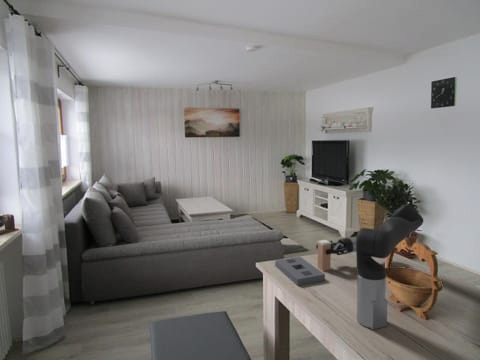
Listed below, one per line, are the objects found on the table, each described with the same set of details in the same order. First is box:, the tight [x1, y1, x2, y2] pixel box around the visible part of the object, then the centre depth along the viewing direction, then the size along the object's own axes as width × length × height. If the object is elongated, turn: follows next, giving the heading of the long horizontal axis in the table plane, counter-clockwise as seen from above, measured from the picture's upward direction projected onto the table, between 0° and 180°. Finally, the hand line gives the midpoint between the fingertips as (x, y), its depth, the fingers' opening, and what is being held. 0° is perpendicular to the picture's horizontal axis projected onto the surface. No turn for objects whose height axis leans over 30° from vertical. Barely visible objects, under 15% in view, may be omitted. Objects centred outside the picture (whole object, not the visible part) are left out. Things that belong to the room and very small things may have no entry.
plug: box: [317, 239, 332, 272], centre depth 159 cm, size 4×4×14 cm
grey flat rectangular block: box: [274, 256, 326, 287], centre depth 156 cm, size 24×14×3 cm, turn 17°
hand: (321, 249), depth 158 cm, fingers open, 8 cm apart
